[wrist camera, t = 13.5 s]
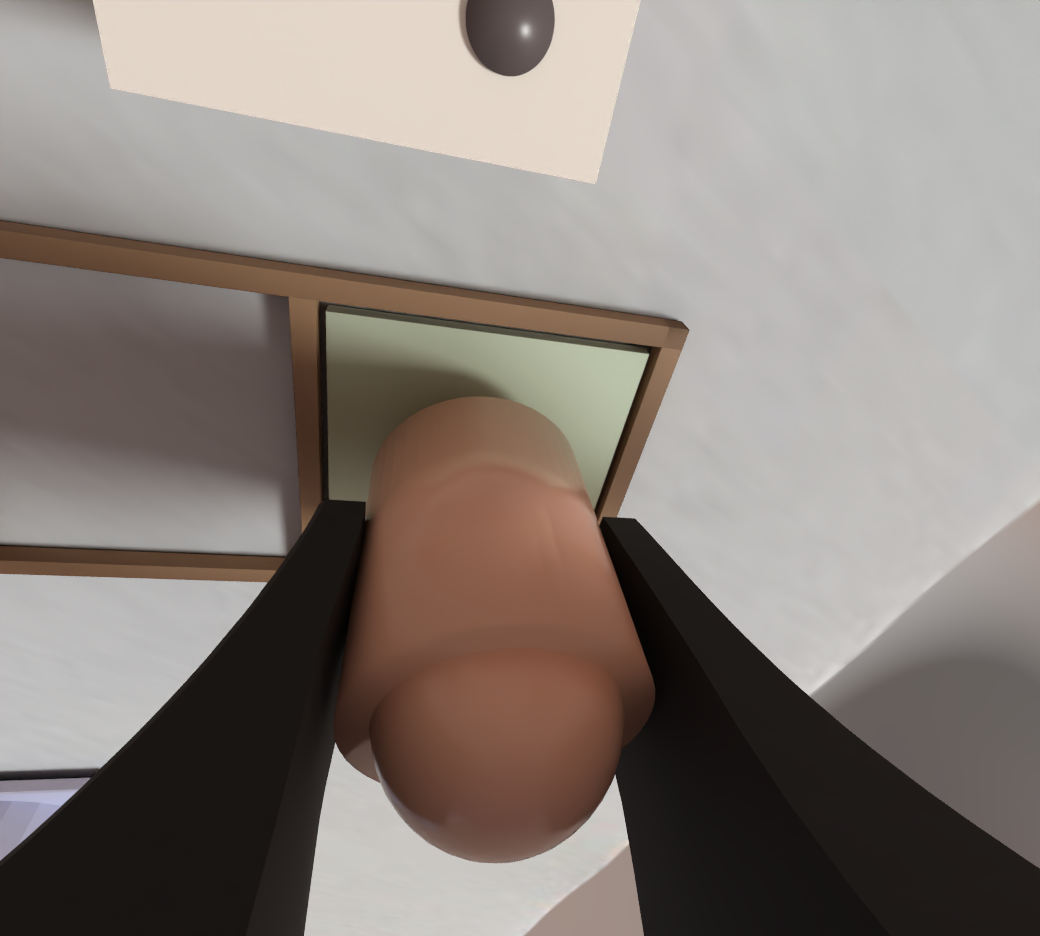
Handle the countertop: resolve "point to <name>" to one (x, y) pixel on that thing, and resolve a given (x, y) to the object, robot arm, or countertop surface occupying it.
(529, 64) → the die
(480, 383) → the brown divided frame
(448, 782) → the peach domed cylinder
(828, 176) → the countertop surface
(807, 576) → the countertop surface
